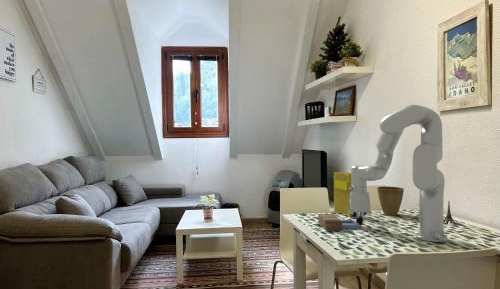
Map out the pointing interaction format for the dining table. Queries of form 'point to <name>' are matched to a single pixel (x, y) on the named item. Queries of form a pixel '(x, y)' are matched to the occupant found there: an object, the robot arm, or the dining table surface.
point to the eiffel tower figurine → (449, 216)
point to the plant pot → (390, 199)
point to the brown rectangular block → (330, 222)
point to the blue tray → (350, 224)
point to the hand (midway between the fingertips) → (359, 224)
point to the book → (342, 192)
